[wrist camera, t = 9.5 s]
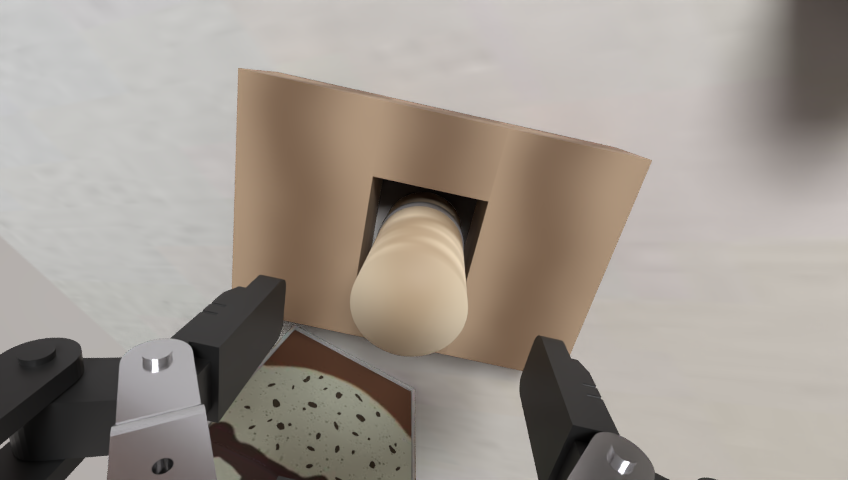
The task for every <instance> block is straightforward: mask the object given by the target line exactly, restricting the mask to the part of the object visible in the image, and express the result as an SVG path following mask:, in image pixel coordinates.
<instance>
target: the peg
mask: <svg viewBox="0 0 848 480" xmlns="http://www.w3.org/2000/svg"><path fill="white" fill-rule="evenodd" d="M463 252H464V242H463V234H462V230H461V222H460V218H459V215H458V213H457V211H456V209H455V208H454V207H453V205H452V204H451V203H450V202H448V201H447V200H446V199H444V198H443V197H441V196H439V195H437V194H434V193H430V192H416V193H412V194H409V195H406V196H404V197H403V198H401V199H400V200H398V201H397V202H396V203H395V204H394V205H393V207H392V208H391V210H390V211H389V213H388V215H387V217H386V218H385V220H384V221H383V223H382V225H381V227H380V229H379V232H378V235H377V238H376V240H375V242H374V244H373V246H372V248H371V250H370V252H369V254H368V256H367V258H366V260H365V262H364V264H363V266H362V268H361V270H360V272H359V274H358V276H357V278H356V280H355V282H354V285H353V287H352V291H351V295H350V309H351V314H352V317H353V320H354V322H355V324H356V326H357V328H358V329H359V331H360V332H361V333H362V335H363V336H364V337H365V338H366V339H367V340H368V341H370V342H371V343H372V344H374V345H375V346H377V347H378V348H380V349H382V350H384V351H386V352H389V353H392V354H396V355H401V356H411V357H413V356H423V355H428V354H431V353H434V352H437V351H439V350H441V349H443V348H445V347H446V346H448V345H449V344H450V343H452V342H453V341H454V340H455V339H456V338H457V336H458V335H459V334H460V332H461V331H462V329H463V327H464V325H465V322H466V319H467V314H468V300H467V288H466V277H465V265H464V254H463Z"/></svg>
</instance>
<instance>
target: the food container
mask: <svg viewBox="0 0 848 480" xmlns="http://www.w3.org/2000/svg"><path fill="white" fill-rule="evenodd" d="M207 422H208V428H209V434H210V440H211V446H212V452H213V458H214V465H215V471H216V477H217V480H277V477H278V476H281V477H286V478H290V479H295V480H416V456H415V389H414V388H412V387H410V386H408V385H406V384H404V383H402V382H401V381H399V380H397V379H395V378H393V377H391V376H389V375H388V374H386V373H384V372H382V371H380V370H378V369H376V368H374V367H373V366H371V365H369V364H367V363H365V362H363V361H361V360H359V359H358V358H356V357H354V356H352V355H350V354H348V353H346V352H345V351H343V350H341V349H339V348H337V347H335V346H333V345H331V344H330V343H328V342H326V341H324V340H322V339H320V338H318V337H316V336H315V335H313V334H311V333H309V332H307V331H305V330H303V329H302V328H300V327H298V326H296V325H293V326H292V327H291V328H290V330H289V331H288V332H287V333H286V334H285V335H284V336H283V337H282V338H281V339H280V341H279V342H278V343H277V344H276V345H275V346H274V347H273V348H272V349H271V350H270V352H269V353H268V354H267V355H266V357H265V358H264V360H263V361H262V362H261V364H260V365H259V367H258V368H257V369H256V371H255V372H254V374H253V375H252V376H251V378H250V379H249V381H248V382H247V383H246V385H245V386H244V388H243V389H242V390H241V392H240V393H239V395H238V396H237V397H236V399H235V400H234V402H233V403H232V404H231V406H230V407H229V409H228V410H227V411H226V413H225V414H224V416H223V417H222V419H221V420H220V421H219V423H216V422H211V421H207Z"/></svg>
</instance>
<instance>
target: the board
mask: <svg viewBox="0 0 848 480" xmlns="http://www.w3.org/2000/svg"><path fill="white" fill-rule="evenodd" d="M651 162H652V160H650V159H647V158H644V157H641V156H638V155H635V154H632V153H630V152H627V151H624V150H621V149H618V148H615V147H611V146H606V145H602V144H597V143H593V142H588V141H584V140H579V139H575V138H570V137H566V136H561V135H557V134H552V133H548V132H543V131H539V130H534V129H530V128H526V127H521V126H517V125H512V124H508V123H503V122H499V121H494V120H490V119H485V118H481V117H476V116H472V115H467V114H463V113H458V112H454V111H449V110H445V109H440V108H436V107H431V106H427V105H422V104H418V103H413V102H409V101H404V100H400V99H395V98H391V97H386V96H382V95H378V94H373V93H369V92H364V91H360V90H355V89H351V88H346V87H342V86H337V85H333V84H328V83H324V82H319V81H315V80H310V79H306V78H301V77H297V76H292V75H288V74H283V73H279V72H271V71H261V70H251V69H242V68H238V98H237V132H236V166H235V200H234V234H233V269H232V289H233V288H236V287H238V286H240V287H245V288H246V287H247V286H248V285H249V284H250V283H251V282H252V281H253V280H254V279H255V278H257V277H258V276H259V275H266V276H270V277H275V278H279V279H284V280H285V281H286V295H285V307H284V318H283V320H285V321H289V322H294V323H299V324H303V325H308V326H313V327H318V328H322V329H327V330H332V331H336V332H341V333H346V334H351V335H355V336H360V337H364V336H363V335H362V333H361V332H360V331H359V329H358V328H357V326H356V324H355V322H354V320H353V317H352V314H351V309H350V295H351V291H352V287H353V285H354V282H355V280H356V278H357V276H358V274H359V272H360V270H361V268H362V266H363V264H364V262H365V260H366V258H367V256H368V254H369V252H370V250H371V247H372V241H373V235H374V229H375V223H376V217H377V212H378V206H379V200H380V194H381V188H382V182H383V179H387V180H392V181H397V182H401V183H406V184H410V185H415V186H419V187H424V188H429V189H433V190H438V191H442V192H447V193H451V194H456V195H460V196H465V197H470V198H474V199H477V203H476V206H475V210H474V214H473V217H472V221H471V225H470V229H469V232H468V236H467V240H466V244H465V247H464V252H463V254H464V265H465V277H466V288H467V300H468V314H467V319H466V322H465V325H464V327H463V329H462V331H461V332H460V334H459V335H458V336H457V338H456V339H455V340H454V341H453V342H452V343H450V344H449V345H448V346H446V347H445V348H443V349H441V350H439V351H437V352H436V353H440V354H445V355H450V356H455V357H459V358H464V359H469V360H473V361H478V362H483V363H488V364H492V365H497V366H502V367H506V368H511V369H516V370H521V371H523V369H524V367H525V364H526V361H527V358H528V356H529V353H530V350H531V347H532V345H533V342H534V340H535V338H536V337H537V336H538V335H540V336H545V337H549V338H554V339H559V340H562V341H563V342H564V344H565V346H566V348H567V350H568V353H569V355H570V353H571V351H572V349H573V346H574V344H575V342H576V339H577V337H578V335H579V332H580V330H581V327H582V325H583V323H584V320H585V318H586V316H587V313H588V311H589V309H590V306H591V304H592V301H593V299H594V297H595V294H596V292H597V290H598V287H599V285H600V282H601V280H602V278H603V275H604V273H605V271H606V268H607V266H608V264H609V261H610V259H611V256H612V254H613V252H614V249H615V247H616V245H617V242H618V240H619V237H620V235H621V233H622V230H623V228H624V226H625V223H626V221H627V219H628V216H629V214H630V211H631V209H632V207H633V204H634V202H635V200H636V197H637V195H638V192H639V190H640V188H641V185H642V183H643V181H644V178H645V176H646V174H647V171H648V169H649V166H650V164H651Z"/></svg>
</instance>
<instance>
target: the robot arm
mask: <svg viewBox="0 0 848 480" xmlns="http://www.w3.org/2000/svg"><path fill="white" fill-rule="evenodd" d="M285 295H286V281H285V280H284V279H279V278H275V277H270V276H266V275H259V276H258V277H257V278H255V279H254V280H253V281H252V282H251V283H250V284H249V285H248V286H247V287H246V288H245V287H240V286H238V287H236V288H233V289H231V290H228V291H226V292H224V293H222V294H221V295H220V296H219V297H217V298H216V299H215V300H214V301H213V302H212V304H209V305H208V306H207V307H206V308H205V309H204V310H203V312H200V313H199V314H198V315H197V316H196V317H194V318H193V319H192V320H191V321H190V322H189V323H187V324H186V325H185V326H184V327H183V328H182V329H181V330H179V331H178V332H177V333H176V334H175V335H174V336H172V337H171V338H170V339H169V338H168V339H156V340H151V341H147V342H144V343H142V344H139V345H137V346H135V347H133V348H132V349H130V350H129V351H128V352H126V353H125V354H124V356H123V357H121V358H83V357H82V350H81V346H80V345H79V344H78V343H77V342H76V341H73V340H71V339H66V338H45V339H39V340H35V341H30V342H26V343H24V344H21V345H18V346H15V347H13V348H11V349H9V350H7V351H6V352H4V353H2V354H0V445H1V444H2V443H3V442H4V441H6V440H7V439H8V438H9V439H10V442H8V443H7V444H6V445H5V446H4V447H3V448H1V449H0V480H65V479H66V478H67V477H68V476H69V475H70V473H71V472H72V471H73V470H74V469H75V468H76V467H77V466H78V465H79V464H80V463H81V462H82V461H83V459H84V458H85V457H96V456H107V455H109V459H108V471H107V480H217V477H216V471H215V465H214V458H213V452H212V446H211V440H210V434H209V428H208V422H207V421H211V422H216V423H219V421H220V420H221V419H222V417H223V416H224V414H225V413H226V411H227V410H228V409H229V407H230V406H231V404H232V403H233V402H234V400H235V399H236V397H237V396H238V395H239V393H240V392H241V390H242V389H243V388H244V386H245V385H246V383H247V382H248V381H249V379H250V378H251V376H252V375H253V374H254V372H255V371H256V369H257V368H258V367H259V365H260V364H261V362H262V361H263V360H264V358H265V357H266V355H267V354H268V353H269V351H270V350H271V348H272V347H273V346H274V344H275V343H276V341H277V340H278V338H279V335H280V333H281V330H282V326H283V318H284V307H285ZM520 397H521V402H522V407H523V411H524V416H525V420H526V425H527V429H528V434H529V439H530V443H531V448H532V452H533V457H534V462H535V466H536V471H537V475H538V480H669V479H667V478H665V477H663V476H661V475H659V474H657V473H655V471H654V467H653V465H652V463H651V461H650V460H649V458H648V457H647V456H646V455H645V453H644V452H643V451H642V450H641V449H640V448H639V447H637V446H636V445H635V444H634V443H632V442H631V441H629V440H627V439H626V438H624V437H622V436H620V435H619V433H618V431H617V429H616V427H615V424H614V422H613V420H612V418H611V416H610V414H609V412H608V410H607V408H606V406H605V404H604V402H603V400H602V399H601V396H600V393H599V391H598V389H597V388H596V385H595V383H594V381H593V379H592V377H591V375H590V373H589V372H588V371H587V370H586V369H585V367H584V366H583V365H582V364H581V363H580V362H579V361H578V360H575V359H571V357H570V355H569V353H568V350H567V348H566V346H565V344H564V342H563V341H562V340H559V339H554V338H549V337H545V336H540V335H538V336H537V337H536V338H535V340H534V342H533V345H532V347H531V350H530V353H529V356H528V358H527V361H526V364H525V367H524V369H523V372H522V375H521V379H520ZM277 480H295V479H290V478H286V477H281V476H278V477H277ZM698 480H716V479H712V478H700V479H698Z"/></svg>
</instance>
